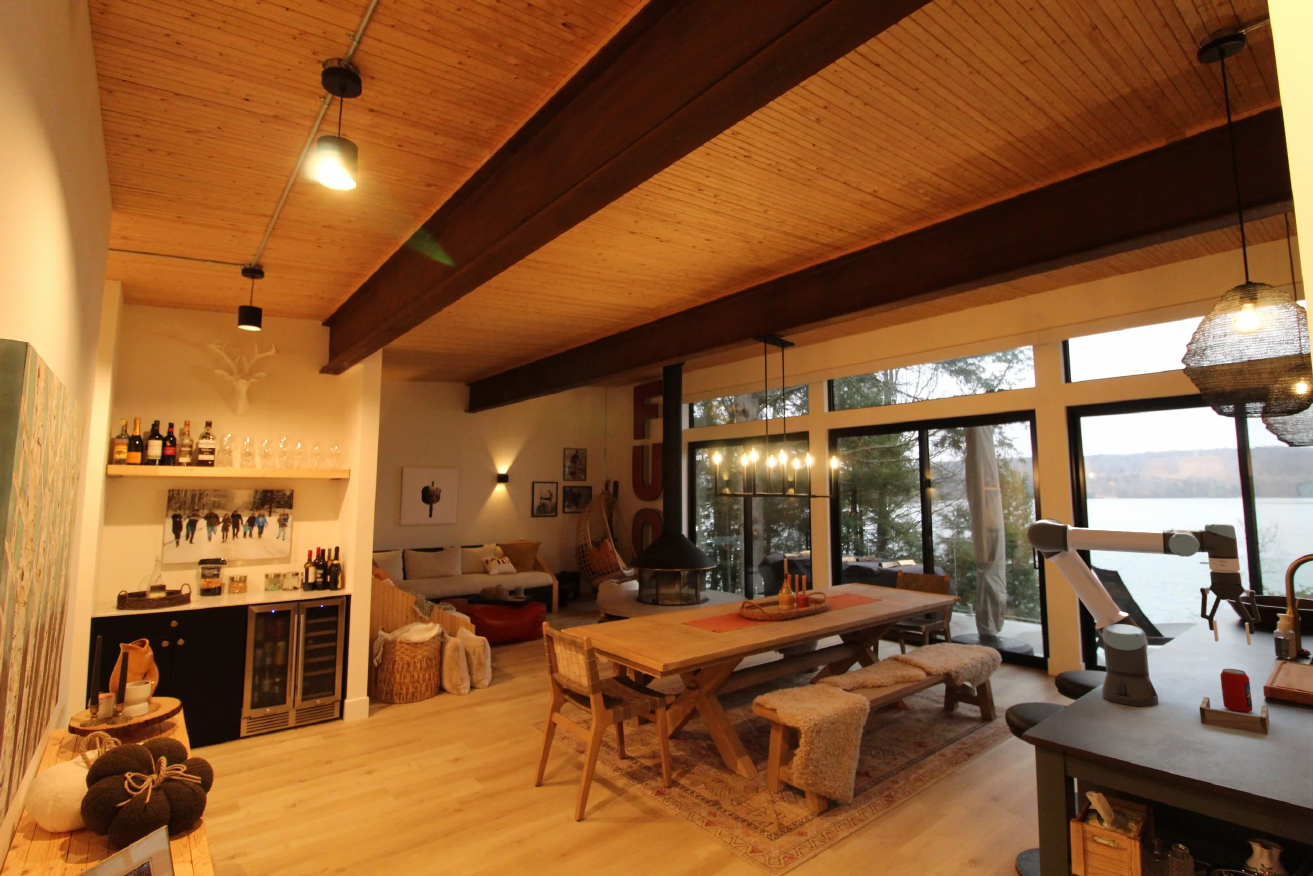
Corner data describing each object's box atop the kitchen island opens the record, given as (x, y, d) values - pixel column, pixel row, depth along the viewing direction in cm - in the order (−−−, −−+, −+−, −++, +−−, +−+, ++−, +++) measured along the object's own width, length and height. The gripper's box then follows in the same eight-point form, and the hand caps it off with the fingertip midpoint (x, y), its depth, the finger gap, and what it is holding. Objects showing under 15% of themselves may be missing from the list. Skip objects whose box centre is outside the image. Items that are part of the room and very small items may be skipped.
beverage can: (1258, 714, 196) (1254, 674, 197) (1233, 713, 198) (1228, 673, 199) (1243, 707, 203) (1238, 668, 204) (1218, 706, 204) (1214, 667, 205)
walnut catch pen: (1267, 734, 181) (1265, 718, 181) (1201, 723, 191) (1199, 707, 191) (1269, 722, 190) (1267, 706, 190) (1205, 711, 200) (1204, 696, 200)
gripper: (1184, 570, 215) (1191, 640, 213) (1266, 574, 201) (1275, 649, 199) (1186, 568, 220) (1194, 636, 218) (1267, 571, 206) (1275, 644, 204)
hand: (1232, 642), depth 209 cm, fingers open, 7 cm apart
